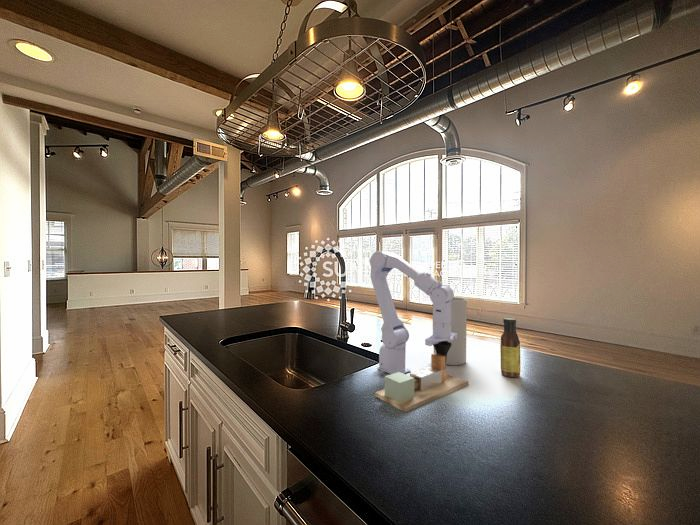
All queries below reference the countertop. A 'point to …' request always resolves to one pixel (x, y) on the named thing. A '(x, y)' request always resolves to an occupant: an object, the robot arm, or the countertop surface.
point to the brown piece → (436, 362)
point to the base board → (425, 393)
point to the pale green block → (399, 386)
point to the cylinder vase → (458, 326)
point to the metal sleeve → (428, 378)
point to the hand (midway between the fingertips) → (441, 364)
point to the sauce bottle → (510, 349)
